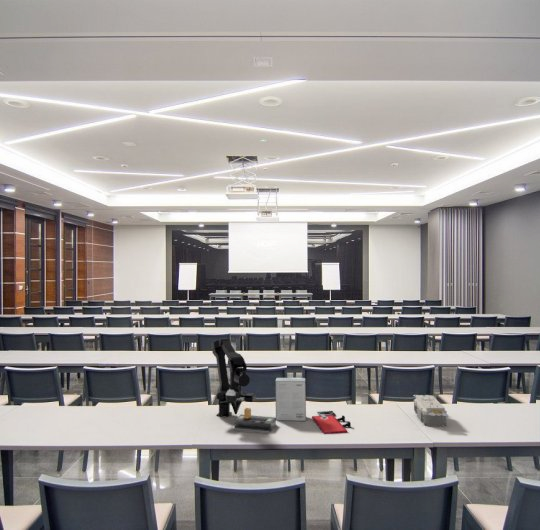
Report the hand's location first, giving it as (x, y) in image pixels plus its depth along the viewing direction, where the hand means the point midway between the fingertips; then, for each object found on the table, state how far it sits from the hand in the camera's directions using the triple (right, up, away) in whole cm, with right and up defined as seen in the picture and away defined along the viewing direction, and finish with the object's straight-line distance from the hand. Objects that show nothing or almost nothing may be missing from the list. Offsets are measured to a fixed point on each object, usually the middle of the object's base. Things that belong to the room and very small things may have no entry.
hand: (235, 413), depth 206 cm
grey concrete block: (+98, -6, +6) cm, 98 cm away
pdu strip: (+10, -5, -3) cm, 11 cm away
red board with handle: (+47, -6, +3) cm, 47 cm away
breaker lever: (+6, -1, -2) cm, 6 cm away
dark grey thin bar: (+8, -5, -9) cm, 13 cm away
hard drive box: (+28, -6, +9) cm, 29 cm away
